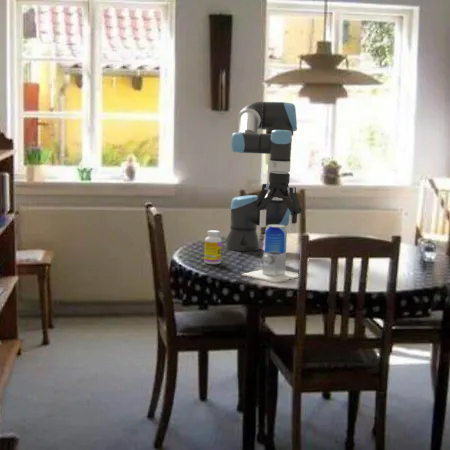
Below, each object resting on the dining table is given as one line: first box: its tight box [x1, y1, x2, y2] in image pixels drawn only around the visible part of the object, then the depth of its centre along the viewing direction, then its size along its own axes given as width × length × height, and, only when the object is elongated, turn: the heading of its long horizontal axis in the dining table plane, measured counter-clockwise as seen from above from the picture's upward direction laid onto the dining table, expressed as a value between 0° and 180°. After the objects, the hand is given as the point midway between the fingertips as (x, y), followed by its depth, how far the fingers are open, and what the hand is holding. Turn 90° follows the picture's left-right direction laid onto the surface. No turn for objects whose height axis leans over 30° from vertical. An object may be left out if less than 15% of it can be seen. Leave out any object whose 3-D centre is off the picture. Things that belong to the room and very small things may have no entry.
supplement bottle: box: [203, 229, 223, 265], centre depth 314 cm, size 7×7×13 cm
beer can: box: [264, 224, 288, 254], centre depth 314 cm, size 8×8×16 cm
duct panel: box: [241, 269, 299, 284], centre depth 295 cm, size 18×16×6 cm
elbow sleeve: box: [260, 251, 287, 277], centre depth 294 cm, size 9×6×8 cm
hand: (276, 229), depth 294 cm, fingers open, 13 cm apart
